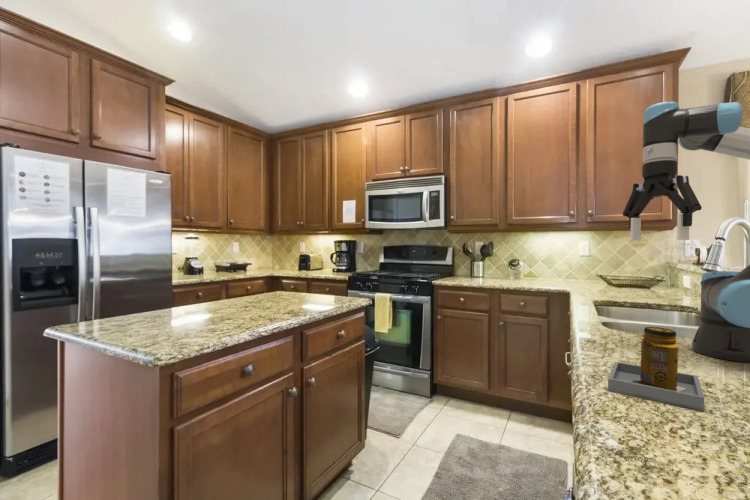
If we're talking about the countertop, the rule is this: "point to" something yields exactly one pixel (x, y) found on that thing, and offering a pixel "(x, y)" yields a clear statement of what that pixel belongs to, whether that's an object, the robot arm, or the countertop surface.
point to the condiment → (659, 359)
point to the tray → (686, 398)
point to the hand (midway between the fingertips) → (657, 240)
